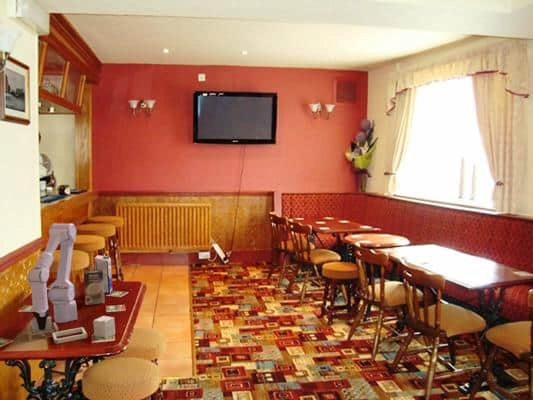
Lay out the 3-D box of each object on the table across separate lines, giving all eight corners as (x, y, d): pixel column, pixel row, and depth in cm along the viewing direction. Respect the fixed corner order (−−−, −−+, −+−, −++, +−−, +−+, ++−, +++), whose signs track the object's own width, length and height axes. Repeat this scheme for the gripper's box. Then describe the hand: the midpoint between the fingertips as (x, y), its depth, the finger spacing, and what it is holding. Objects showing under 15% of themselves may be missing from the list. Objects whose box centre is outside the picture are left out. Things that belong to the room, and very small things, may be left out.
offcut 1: (42, 336, 207) (42, 331, 207) (43, 338, 205) (42, 333, 205) (32, 338, 205) (32, 333, 205) (32, 340, 204) (32, 335, 203)
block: (51, 330, 214) (50, 316, 213) (52, 331, 213) (51, 317, 212) (32, 333, 210) (31, 320, 210) (32, 335, 209) (31, 321, 208)
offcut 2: (54, 334, 210) (54, 329, 209) (55, 335, 208) (55, 331, 207) (44, 335, 208) (44, 331, 208) (45, 337, 206) (44, 332, 206)
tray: (83, 332, 213) (82, 327, 212) (87, 339, 205) (86, 333, 205) (52, 338, 207) (52, 332, 206) (55, 345, 199) (55, 340, 199)
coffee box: (85, 305, 249) (83, 273, 248) (85, 301, 255) (83, 270, 254) (104, 303, 252) (103, 271, 250) (104, 299, 258) (102, 268, 256)
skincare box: (104, 332, 213) (102, 315, 212) (115, 334, 210) (114, 317, 209) (93, 337, 207) (92, 320, 206) (105, 339, 205) (104, 321, 204)
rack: (55, 329, 217) (54, 321, 216) (58, 337, 208) (58, 328, 208) (27, 335, 211) (26, 326, 211) (29, 342, 203) (28, 334, 202)
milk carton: (99, 291, 274) (97, 254, 272) (112, 290, 275) (110, 254, 272) (96, 294, 267) (94, 257, 265) (109, 294, 268) (107, 257, 265)
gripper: (27, 294, 214) (29, 325, 215) (30, 303, 201) (33, 336, 203) (45, 291, 217) (47, 322, 219) (49, 300, 205) (52, 332, 206)
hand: (41, 328), depth 211 cm, fingers closed on block, 2 cm apart
